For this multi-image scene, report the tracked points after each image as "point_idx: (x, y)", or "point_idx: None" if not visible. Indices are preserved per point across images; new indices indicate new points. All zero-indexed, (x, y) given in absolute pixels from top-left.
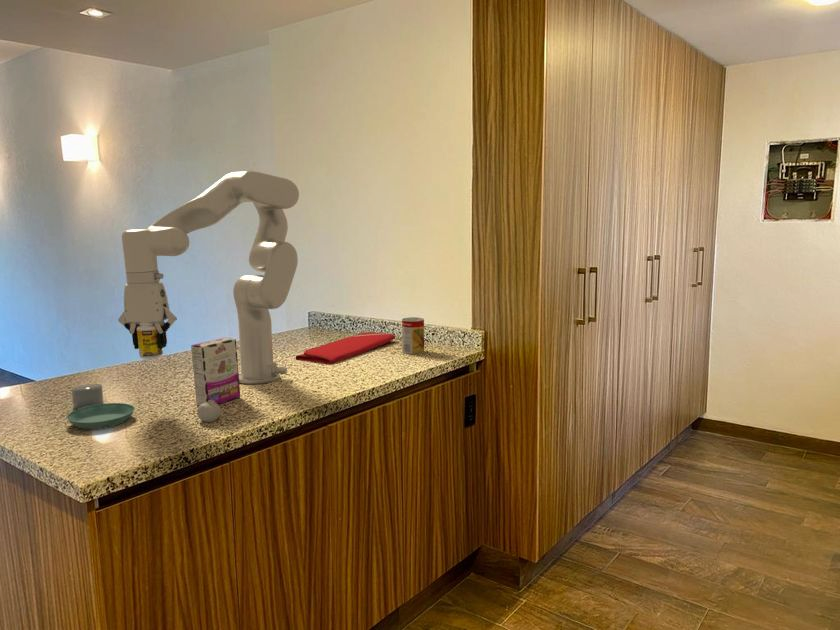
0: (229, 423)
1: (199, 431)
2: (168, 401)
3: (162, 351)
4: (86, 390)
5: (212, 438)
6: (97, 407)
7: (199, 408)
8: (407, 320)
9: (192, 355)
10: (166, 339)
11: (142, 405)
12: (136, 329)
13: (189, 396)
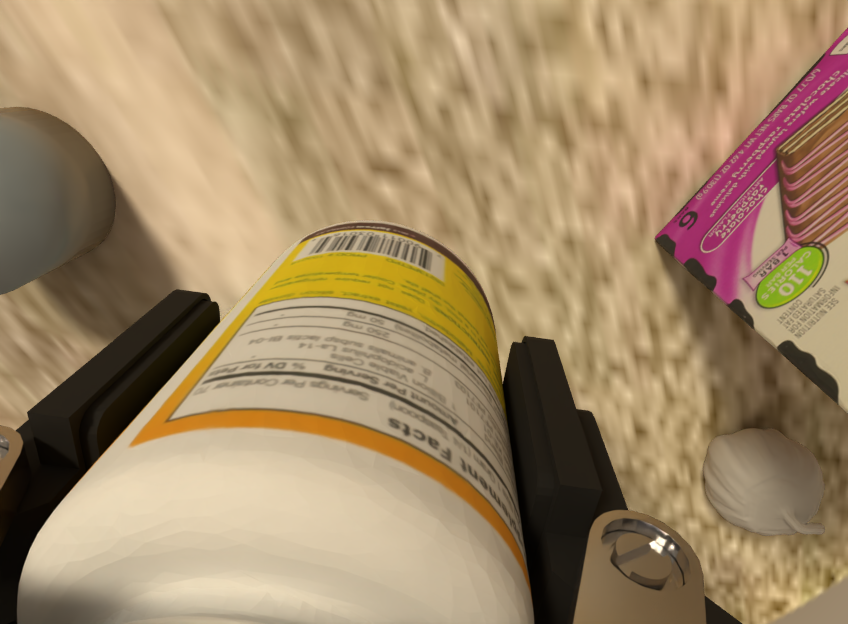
0: (826, 492)
1: (708, 553)
2: (466, 138)
3: (492, 316)
4: (4, 279)
5: (759, 609)
6: None
7: (732, 522)
8: None
9: (845, 411)
10: (601, 448)
11: (342, 206)
12: (13, 565)
13: (574, 27)
